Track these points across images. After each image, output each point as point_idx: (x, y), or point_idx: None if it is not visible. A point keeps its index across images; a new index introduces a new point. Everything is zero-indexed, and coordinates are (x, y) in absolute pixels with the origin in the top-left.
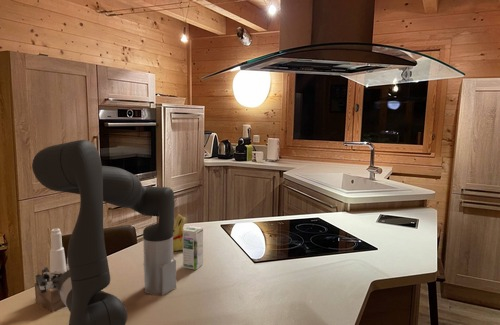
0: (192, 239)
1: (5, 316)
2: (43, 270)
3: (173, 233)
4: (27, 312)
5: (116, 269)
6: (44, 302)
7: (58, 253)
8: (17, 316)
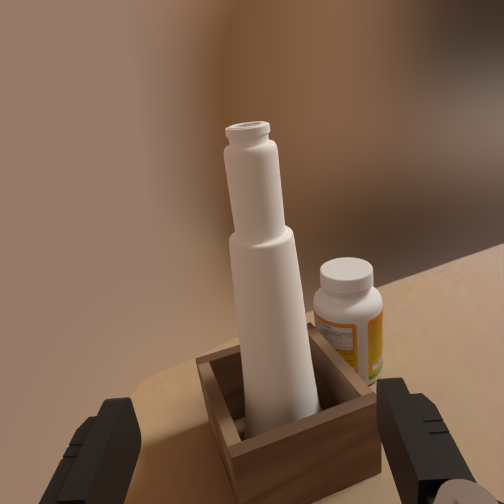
0: None
1: None
2: (89, 429)
3: None
4: (163, 476)
5: (498, 324)
6: (222, 454)
7: (263, 262)
8: None
